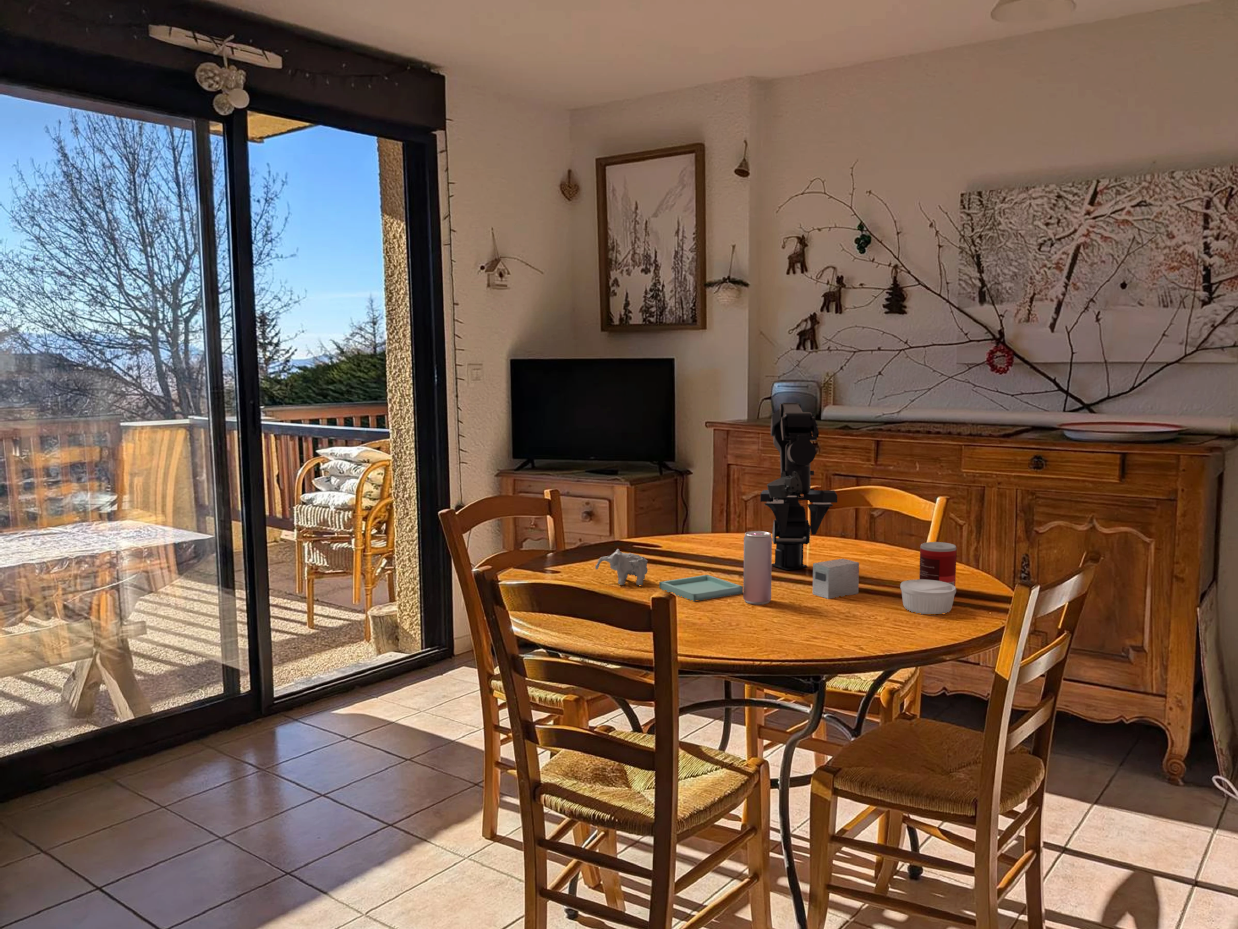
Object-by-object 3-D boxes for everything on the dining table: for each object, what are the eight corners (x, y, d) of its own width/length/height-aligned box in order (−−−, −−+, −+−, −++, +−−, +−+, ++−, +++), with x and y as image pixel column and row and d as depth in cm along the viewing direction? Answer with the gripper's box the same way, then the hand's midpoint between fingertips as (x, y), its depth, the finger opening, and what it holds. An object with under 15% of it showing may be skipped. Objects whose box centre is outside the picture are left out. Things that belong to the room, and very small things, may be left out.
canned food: (955, 591, 223) (956, 542, 221) (954, 599, 215) (956, 549, 214) (919, 588, 225) (921, 540, 224) (918, 596, 218) (919, 547, 216)
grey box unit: (843, 588, 225) (844, 558, 225) (859, 593, 221) (860, 562, 220) (811, 594, 221) (812, 563, 220) (827, 599, 216) (828, 567, 215)
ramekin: (947, 620, 200) (948, 594, 199) (892, 612, 206) (893, 587, 205) (961, 607, 209) (961, 583, 209) (908, 600, 215) (908, 576, 214)
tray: (707, 581, 233) (707, 574, 233) (742, 593, 222) (742, 586, 221) (659, 588, 226) (659, 581, 226) (693, 601, 215) (693, 594, 215)
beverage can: (740, 598, 217) (741, 531, 215) (767, 597, 218) (768, 530, 216) (746, 605, 211) (747, 536, 210) (774, 604, 212) (774, 535, 210)
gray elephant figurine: (651, 588, 229) (653, 555, 228) (601, 588, 226) (602, 555, 225) (641, 579, 238) (643, 547, 237) (592, 579, 235) (594, 547, 234)
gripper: (744, 466, 231) (744, 533, 231) (806, 465, 216) (806, 536, 216) (776, 467, 238) (776, 532, 238) (838, 465, 224) (838, 535, 223)
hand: (797, 533), depth 228 cm, fingers open, 9 cm apart
